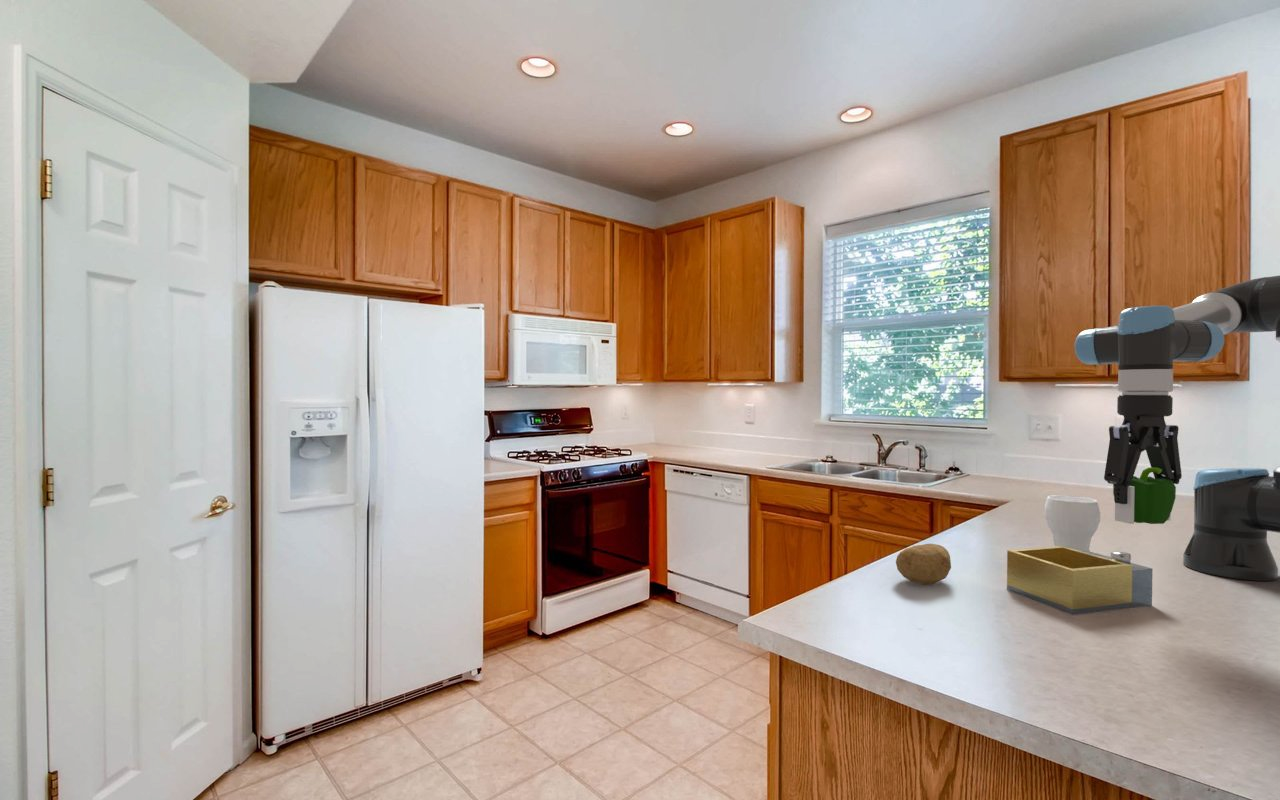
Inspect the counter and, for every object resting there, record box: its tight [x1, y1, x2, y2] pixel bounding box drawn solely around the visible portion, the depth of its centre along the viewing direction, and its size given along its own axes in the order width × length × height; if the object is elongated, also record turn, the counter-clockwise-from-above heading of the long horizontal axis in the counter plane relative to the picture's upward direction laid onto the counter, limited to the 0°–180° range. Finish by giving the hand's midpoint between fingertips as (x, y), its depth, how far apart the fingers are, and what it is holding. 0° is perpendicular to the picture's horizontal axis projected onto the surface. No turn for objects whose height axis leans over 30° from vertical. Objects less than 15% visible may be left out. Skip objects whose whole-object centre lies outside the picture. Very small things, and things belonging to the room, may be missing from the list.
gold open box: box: [1006, 546, 1153, 615], centre depth 116 cm, size 19×14×9 cm
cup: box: [1044, 494, 1101, 552], centre depth 140 cm, size 11×11×15 cm
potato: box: [895, 543, 952, 586], centre depth 125 cm, size 10×14×8 cm
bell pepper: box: [1112, 467, 1177, 525], centre depth 106 cm, size 8×8×10 cm
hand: (1142, 520), depth 106 cm, fingers closed on bell pepper, 8 cm apart
